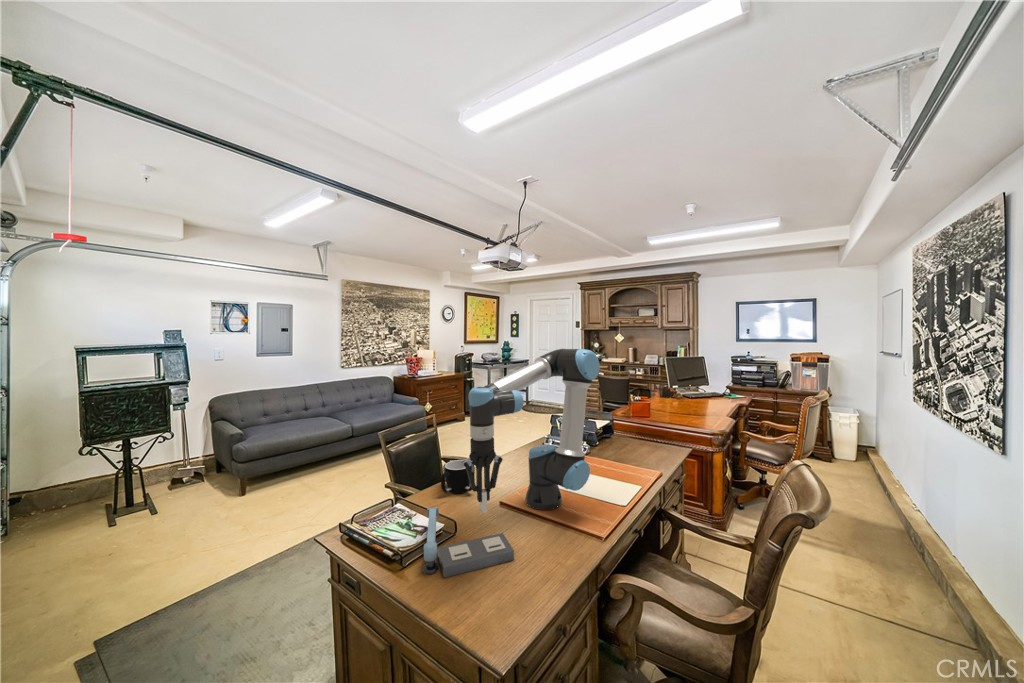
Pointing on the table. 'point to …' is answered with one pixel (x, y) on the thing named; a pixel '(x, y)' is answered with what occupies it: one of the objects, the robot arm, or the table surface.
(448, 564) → the block
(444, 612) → the table surface
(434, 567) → the black short cylinder
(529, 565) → the table surface
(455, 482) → the black pot
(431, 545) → the hole punch handle
